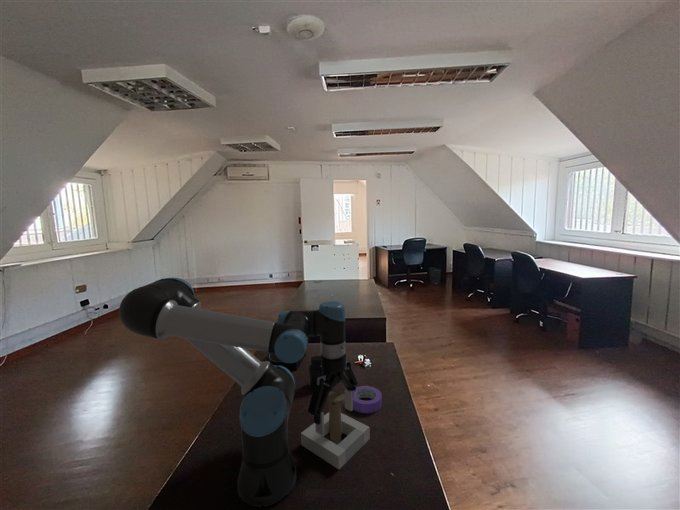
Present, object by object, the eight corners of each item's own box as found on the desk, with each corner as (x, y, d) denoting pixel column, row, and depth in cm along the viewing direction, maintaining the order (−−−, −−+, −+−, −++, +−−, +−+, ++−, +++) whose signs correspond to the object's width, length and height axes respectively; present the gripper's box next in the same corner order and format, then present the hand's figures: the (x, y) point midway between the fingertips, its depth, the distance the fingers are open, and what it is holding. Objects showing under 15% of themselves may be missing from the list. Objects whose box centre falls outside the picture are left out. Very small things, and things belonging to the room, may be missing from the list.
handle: (345, 448, 92) (344, 401, 90) (324, 446, 93) (322, 400, 91) (347, 437, 97) (346, 392, 95) (327, 435, 97) (325, 391, 96)
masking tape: (388, 403, 114) (387, 393, 114) (368, 418, 106) (368, 407, 105) (363, 391, 122) (363, 382, 122) (343, 404, 114) (343, 395, 113)
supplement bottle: (319, 391, 122) (318, 363, 121) (305, 387, 126) (304, 359, 125) (328, 383, 128) (328, 356, 127) (315, 379, 132) (314, 352, 130)
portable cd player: (273, 354, 159) (273, 346, 158) (305, 355, 156) (305, 348, 156) (261, 369, 143) (260, 361, 142) (296, 371, 140) (296, 363, 140)
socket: (339, 469, 84) (338, 456, 84) (301, 445, 94) (300, 433, 93) (369, 438, 96) (369, 426, 95) (333, 419, 105) (333, 408, 105)
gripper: (312, 374, 79) (315, 449, 82) (367, 343, 98) (368, 405, 101) (293, 366, 84) (296, 437, 87) (349, 337, 103) (350, 397, 106)
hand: (335, 420), depth 94 cm, fingers open, 13 cm apart
